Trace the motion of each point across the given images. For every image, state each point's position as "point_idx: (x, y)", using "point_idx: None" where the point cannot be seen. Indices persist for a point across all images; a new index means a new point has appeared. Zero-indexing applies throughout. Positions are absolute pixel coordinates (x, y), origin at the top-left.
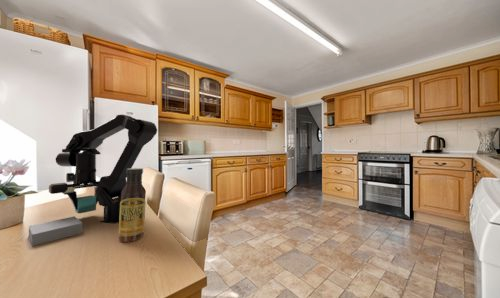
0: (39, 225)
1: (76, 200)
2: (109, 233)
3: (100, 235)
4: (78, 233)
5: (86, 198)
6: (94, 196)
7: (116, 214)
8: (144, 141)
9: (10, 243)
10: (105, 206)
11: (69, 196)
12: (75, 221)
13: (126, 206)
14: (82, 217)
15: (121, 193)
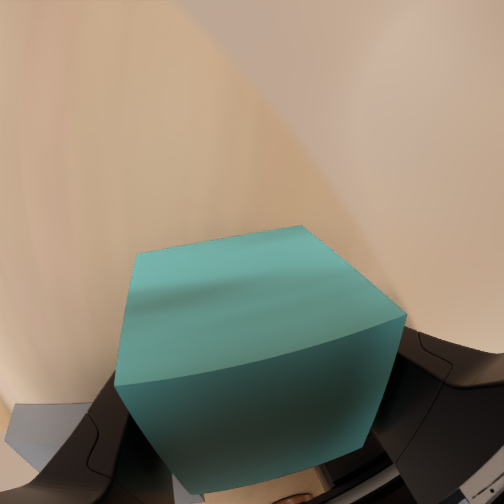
0: (47, 462)
1: (167, 482)
2: (264, 486)
3: (242, 489)
4: None
5: (269, 479)
6: (370, 420)
7: None
8: None
9: (4, 426)
10: (327, 468)
11: (59, 485)
12: (180, 490)
13: None
14: (197, 242)
15: None
